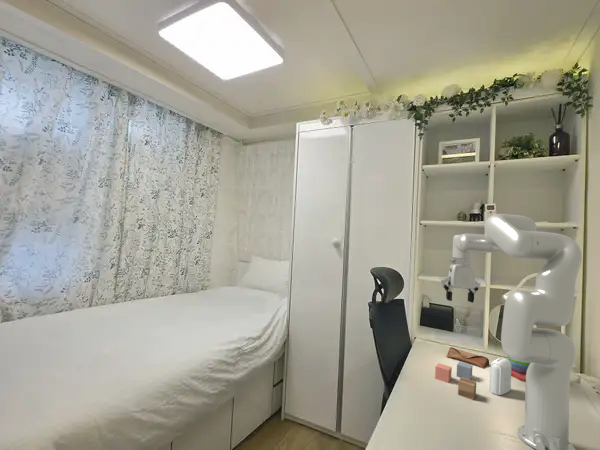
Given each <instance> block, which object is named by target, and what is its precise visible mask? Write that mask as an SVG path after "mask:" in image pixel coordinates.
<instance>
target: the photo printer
mask: <svg viewBox="0 0 600 450" xmlns="http://www.w3.org/2000/svg"><path fill="white" fill-rule="evenodd" d="M489 371H490V372H489V374H490V375H489V391H490V392H491V394H494V395H497V396H502V395H504V394H507V393H509V392H510V391H511V389H512V388H511V387H512V385H511V384H512V376H511V363H510V361H509V360H508V358H504V357H499V358H497V359H496V358H495V360H493V361H492V362H491V364H490V370H489Z"/></svg>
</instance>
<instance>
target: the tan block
mask: <svg viewBox="0 0 600 450" xmlns="http://www.w3.org/2000/svg"><path fill="white" fill-rule="evenodd" d="M457 396H461V397H463V398H466V399H469V400H471V401H474V400H475V398H476V396H477V381H475V380H472V379H471V380H469V379H466V378H463V377H461V378H460V377H459V380H458V385H457Z"/></svg>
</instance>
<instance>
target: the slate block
mask: <svg viewBox="0 0 600 450" xmlns="http://www.w3.org/2000/svg"><path fill="white" fill-rule="evenodd" d="M473 366H474V365H471V364H468V363H464V362H461V361H458V362H457V364H456V377H458V378H459V379H460V378H461V377H463V378H466V379H469V380H472V378H473Z"/></svg>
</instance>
